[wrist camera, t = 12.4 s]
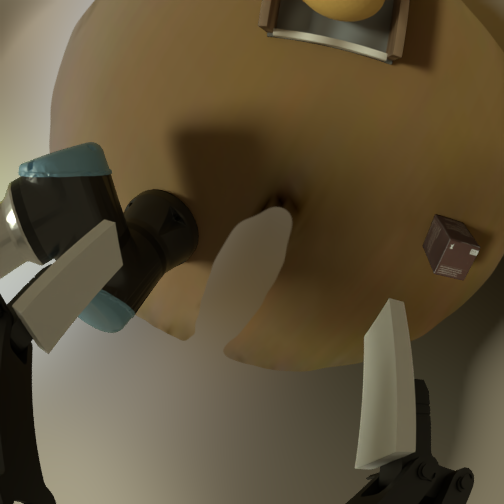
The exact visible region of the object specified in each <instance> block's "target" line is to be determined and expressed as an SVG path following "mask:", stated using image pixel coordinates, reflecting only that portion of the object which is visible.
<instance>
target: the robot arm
mask: <svg viewBox="0 0 504 504" xmlns="http://www.w3.org/2000/svg"><path fill="white" fill-rule="evenodd" d="M111 174H112V171H111V170H110V169H109V166H108V164H107V161H106V158H105V155H104V152H103V149H102V148H101V146H100V145H98V144H97V143H93V142H89V143H84V144H80V145H76V146H73V147H69V148H66V149H63V150H59V151H56V152H53V153H50V154H47V155H44V156H41V157H39V158H36V159H33V160H30V161H28V162H25V163H23V164H21V165H20V167H19V175H20V176H21V177H19V178H18V179H16V180H14V181H13V182H11V183H9V186H8V189H7V191H6V194H5V197H4V199H3V201H1V202H0V278H2V277H4V276H5V275H7V274H8V273H10V272H11V271H13V270H14V269H16V268H17V267H19V266H20V265H22V264H23V263H25V262H27V261H30V262H33V263H36V264H39V265H44V264H45V263H47V262H49V261H50V260H52V259H54V258H55V260H56V262H55V263H53V264H50V265H48V266H47V267H45V268H43V269H42V270H41V271H40V272H38V273H37V274H36V275H35V278H32V279H31V280H30V281H29V283H27V284H26V285H25V286H24V287H23V288H22V289H21V291H20V292H19V293H18V294H17V295H16V296H15V297H14V298H13V299H12V300H11V301H10V302H9V303H8V304H7V305H6V303H5V301H4V299H3V298H2V296H1V294H0V504H13V503H14V501H18V502H21V503H24V504H56V502H55V499H54V496H53V495H52V493H51V492H50V491H49V489H48V488H47V487H46V485H45V483H44V480H43V476H42V471H41V467H40V461H39V456H38V450H37V444H36V436H35V428H34V417H33V405H32V343H31V341H32V339H34V341H35V342H36V344H37V345H38V346H39V347H40V348H41V349H42V350H44V351H45V352H46V353H48V354H49V353H50V351H51V350H52V349H53V347H54V346H55V345H56V343H57V342H58V341H59V340H60V338H61V337H62V336H63V334H64V333H65V332H66V331H67V329H68V328H69V327H70V326H71V324H72V323H73V322H74V321H75V319H76V318H77V317H79V318H80V319H81V320H83V321H84V322H86V323H87V324H89V325H91V326H92V327H94V328H96V329H99V330H101V331H104V332H108V333H109V332H110V333H114V332H118V331H120V330H121V329H123V328H124V326H125V325H126V324H127V323H128V321H129V320H130V319H131V318H133V317H134V315H135V314H136V312H137V311H138V309H139V308H140V307H141V305H142V304H143V302H144V301H145V299H146V298H147V297H148V295H149V294H150V292H151V291H152V290H153V288H154V287H155V286H156V284H157V283H158V281H159V280H160V279H161V277H162V276H163V275H164V274H165V273H166V272H168V271H169V270H171V269H173V268H174V267H176V266H178V265H180V264H182V263H184V262H185V261H186V260H187V259H188V258H189V257H190V256H191V254H192V253H193V252H194V250H195V249H196V246H197V243H198V229H197V225H196V222H195V220H194V217H193V216H192V214H191V212H190V211H189V209H188V208H187V207H186V206H185V205H184V204H183V203H182V202H181V201H180V200H179V199H178V198H176V197H175V196H173V195H171V194H169V193H167V192H164V191H161V190H147V191H144V192H142V193H140V194H139V195H138V196H136V197H135V198H134V199H132V200H131V201H130V203H129V204H128V205H127V207H126V209H125V211H124V213H123V211H122V208H121V205H120V202H119V199H118V196H117V193H116V190H115V186H114V183H113V180H112V176H111ZM429 404H430V402H429V391H428V389H427V387H426V384H425V382H424V380H419V379H414V372H413V362H412V354H411V345H410V337H409V330H408V323H407V317H406V311H405V306H404V302H402V301H398V300H394V299H391V298H389V299H388V301H387V302H386V304H385V306H384V307H383V309H382V310H381V312H380V314H379V315H378V317H377V318H376V320H375V321H374V323H373V324H372V326H371V327H370V329H369V330H368V332H367V333H366V335H365V336H364V377H363V397H362V411H361V423H360V432H359V441H358V450H357V457H356V464H355V468H356V469H375V468H377V467H380V472H379V473H376V474H373V475H370V476H369V477H367V478H366V479H367V480H369V479H372V480H371V481H370V482H369V483H368V484H367V485H366V486H365V487H363V488H362V489H361V490H360V491H359V492H358V493H357V494H356V495H355V496H354V497H353V498H351V499H350V500H349V501H348V502H347V503H346V504H466V502H467V500H468V498H469V495H470V493H471V490H472V487H473V483H474V475H473V473H472V471H471V470H470V469H469V468H462V469H459V470H456V471H454V470H451V469H447V468H445V467H442V466H439V465H438V462H437V460H436V459H435V458H434V457H433V456H432V454H431V421H430V416H429V415H430V406H429Z"/></svg>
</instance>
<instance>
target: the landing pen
mask: <svg viewBox="0 0 504 504" xmlns="http://www.w3.org/2000/svg"><path fill="white" fill-rule="evenodd" d="M409 2H410V0H385V2H384V4H383V6H382V7H381V9H380V10H379V11H378V12H377V13H376V14H374V15H373V16H371V17H369V18H367V19H364V20H360V21H354V22H345V21H338V20H333V19H330V18H327V17H325V16H323V15H321V14H319V13H317V12H316V11H314V10H313V9H312V8H311V7H309V6H308V5H307V4H306V3H305V2H303V1H302V0H262V3H261V9H260V16H259V22H258V26H259V27H261V28H262V29H263V30H265V31H266V32H267V36H268V37H275V38H283V39H290V40H297V41H303V42H308V43H314V44H319V45H324V46H328V47H333V48H337V49H341V50H345V51H349V52H352V53H356V54H360V55H363V56H366V57H370V58H373V59H376V60H379V61H382V62H385V63H388V64H392V61H393V60H396V59H399V58H402V53H403V47H404V41H405V34H406V27H407V20H408V11H409Z"/></svg>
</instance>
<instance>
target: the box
mask: <svg viewBox="0 0 504 504" xmlns="http://www.w3.org/2000/svg"><path fill="white" fill-rule="evenodd" d="M423 248H424V250H425V253H426V255H427V257H428V260H429V262H430V265H431V267H432V269H433V272H434V274H437V275H442V276H446V277H450V278H455V279H459V280H464V279H465V277H466V275H467V273H468V271H469V270H470V268H471V266H472V264H473V262H474V260H475V258H476V256H477V254H478V252H479V250H480V246H479V245H478V244H477V242H476V241H475V239H474V238H473V236H472V235H471V233H470V232H469V231H468V229H467V228H466V226H465V225H464V224H463V223H462V222H458V221H455V220H452V219H449V218H446V217H443V216H439V215H436V214H435V216H434V219H433V221H432V224H431V227H430V229H429V232H428V234H427V237H426V239H425V242H424V244H423Z"/></svg>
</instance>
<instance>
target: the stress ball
mask: <svg viewBox="0 0 504 504" xmlns="http://www.w3.org/2000/svg"><path fill="white" fill-rule="evenodd" d="M302 1H303V2H305V3H306V4H307V5H308V6H309V7H311V8H312V9H313V10H314V11H316V12H317V13H319V14H321V15H323V16H325V17H327V18H330V19H333V20H338V21H345V22H354V21H360V20H364V19H367V18H369V17H371V16H373V15H374V14H376V13H377V12H378V11H379V10H380V9H381V7H382V6H383V4H384V2H385V0H302Z"/></svg>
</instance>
